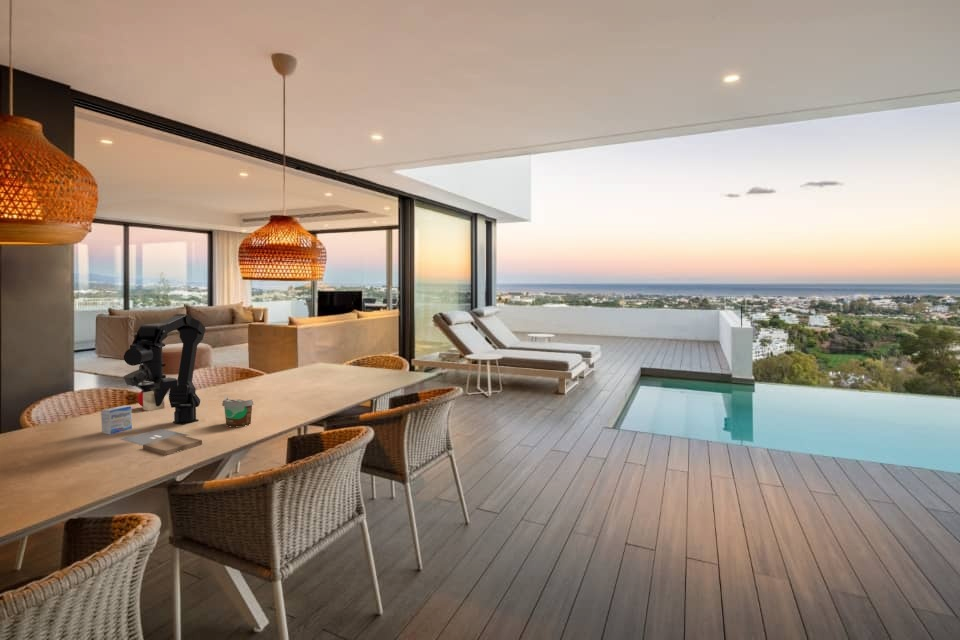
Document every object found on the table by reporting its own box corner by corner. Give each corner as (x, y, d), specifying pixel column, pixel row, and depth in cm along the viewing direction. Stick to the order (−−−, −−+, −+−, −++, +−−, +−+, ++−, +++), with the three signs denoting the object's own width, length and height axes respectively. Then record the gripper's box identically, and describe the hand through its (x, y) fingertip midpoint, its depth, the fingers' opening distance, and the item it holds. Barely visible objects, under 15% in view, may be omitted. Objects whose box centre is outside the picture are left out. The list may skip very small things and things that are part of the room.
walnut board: (179, 439, 168) (179, 434, 168) (202, 444, 163) (201, 440, 163) (143, 449, 157) (142, 444, 157) (165, 455, 152) (165, 450, 152)
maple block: (156, 406, 171) (156, 390, 171) (164, 408, 169) (164, 391, 169) (143, 409, 167) (142, 392, 167) (151, 411, 165) (150, 394, 165)
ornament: (167, 407, 209) (166, 384, 208) (143, 412, 202) (143, 388, 201) (157, 404, 214) (156, 382, 213) (133, 408, 206) (133, 385, 206)
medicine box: (110, 435, 171) (109, 411, 170) (101, 433, 172) (100, 409, 172) (132, 429, 178) (131, 405, 178) (123, 427, 180) (123, 404, 179)
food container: (214, 426, 183) (214, 400, 183) (226, 422, 189) (226, 397, 189) (242, 429, 181) (242, 403, 180) (253, 424, 186) (253, 399, 186)
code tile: (161, 429, 179) (161, 428, 179) (188, 435, 172) (188, 434, 172) (119, 439, 166) (119, 438, 166) (147, 446, 159) (147, 446, 159)
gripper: (111, 361, 164) (112, 407, 165) (144, 366, 156) (145, 414, 157) (145, 357, 174) (147, 400, 175) (178, 362, 166) (179, 406, 167)
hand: (153, 405), depth 168 cm, fingers closed on maple block, 4 cm apart
